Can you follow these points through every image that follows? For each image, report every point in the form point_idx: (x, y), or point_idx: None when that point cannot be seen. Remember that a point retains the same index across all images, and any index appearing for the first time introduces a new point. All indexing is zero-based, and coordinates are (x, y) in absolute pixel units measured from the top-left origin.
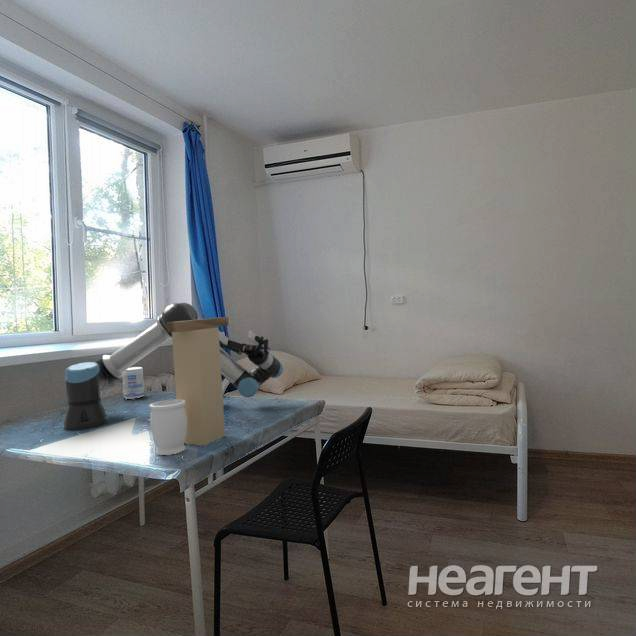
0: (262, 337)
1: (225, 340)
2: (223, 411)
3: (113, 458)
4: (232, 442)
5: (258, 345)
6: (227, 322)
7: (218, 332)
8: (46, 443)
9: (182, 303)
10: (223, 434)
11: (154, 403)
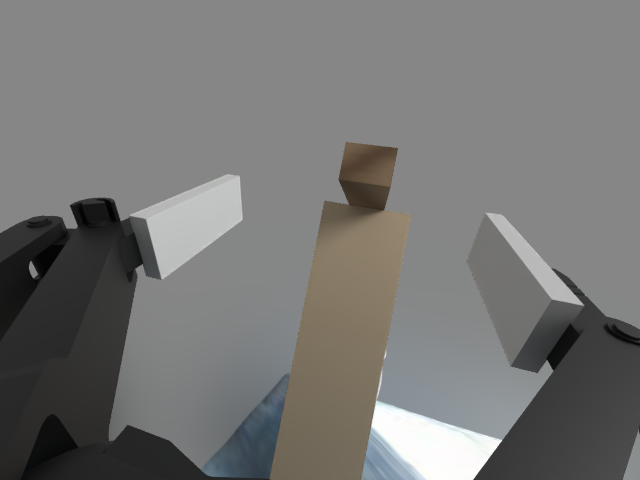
0: (96, 205)
1: (507, 304)
2: (278, 435)
3: (410, 418)
4: (236, 449)
5: (132, 292)
6: (341, 167)
7: (322, 214)
8: None
9: None
10: None
11: (385, 352)
